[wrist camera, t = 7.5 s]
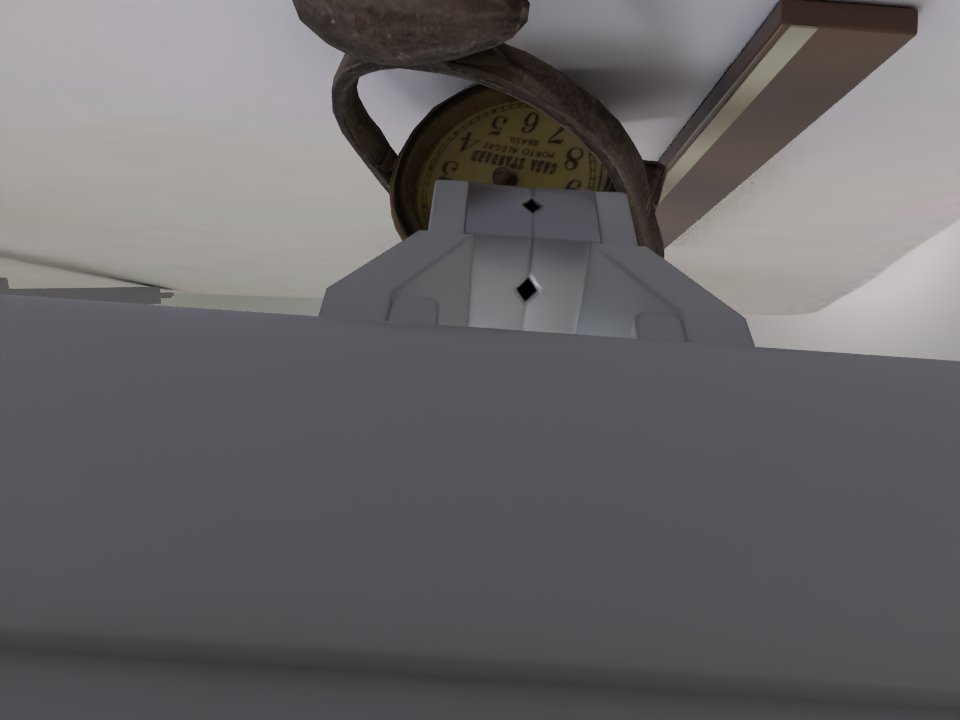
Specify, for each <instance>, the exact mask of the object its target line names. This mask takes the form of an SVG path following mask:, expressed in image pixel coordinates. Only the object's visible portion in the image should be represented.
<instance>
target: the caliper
mask: <svg viewBox="0 0 960 720" xmlns="http://www.w3.org/2000/svg"><path fill="white" fill-rule="evenodd" d="M0 294H6V295H20V296H35V297H49V298H63V299H78V300H92V301H107V302H121V303H136V304H160V303H161V298H171V297H172V296H173V295H174V293H170V292H168V293H160V287H116V288H47V289H9V286H8V280H7V278H0Z"/></svg>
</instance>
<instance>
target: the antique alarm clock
mask: <svg viewBox="0 0 960 720" xmlns="http://www.w3.org/2000/svg"><path fill="white" fill-rule="evenodd" d="M293 3H294V6H295V8H296V11H297V13H298V16H299V19H300V20H301V21H302V22H303V23H304V24H305V25H306V26H307V27H309V28H310V29H311V30H312V31H313V32H314V33H315V34H317V35H318V36H319V37H320V38H321V39H322V40H323V41H325V42H326V43H327V44H329V45H331V46H333V47H334V48H336V49H338V50H340V51H342V52H344V53H345V55H344V57H343V59H342V61H341V64H340V66H339V68H338V70H337V72H336V74H335V76H334V80H333V86H332V107H333V113H334V115H335V118H336V120H337V122H338V124H339V127H340V129H341V131H342V133H343V135H344V136H345V137H346V139H347V140H348V141H349V143H350V144H351V146H352V147H353V148H354V150H355V151H356V152H357V154H358V155H359V156H360V157H361V159H362V160H363V161H364V163H365V164H366V165H367V167H368V168H369V169H370V170H371V172H372V173H373V174H374V176H375V177H376V178H377V179H378V181H379V182H380V183H381V185H382V186H383V187H384V188H385V189H386V191H387V192H388V193H389V195H390V205H391V215H392V219H393V222H394V225H395V229H396V230H397V232H398V234H399V236H400V237H401V239H402V241H403V240H405V239H406V238H408V237H410V236H411V235H413V234H414V233H416V232H418V231H419V230H425V231H428V226H429V220H430V213H431V206H432V200H433V193H434V186H435V182H436V181H437V180H457V181H467V182H468V190H469V182H475V183H486V184H497V185H508V186H519V187H530V188H547V189H568V190H589V191H594V192H624V193H625V194H627V197H628V202H629V207H630V211H631V216H632V221H633V226H634V230H635V235H636V240H637V244H638V246H646V247H648V248H649V249H651V250H652V251H653V252H655V253H656V254H657V255H659V256H660V257H662V258H663V259H664V244H663V239H662V235H661V231H660V228H659V225H658V222H657V219H656V215H655V212H656V209H657V206H658V203H659V201H660V198H661V193H662V188H663V185H664V182H665V179H666V176H667V167H666V166H665V165H663V164H662V163H660V162H657V161H647V160H642V157H641V156H640V154H639V152H638V150H637V148H636V147H635V145H634V143H633V142H632V140H631V138H630V137H629V135H628V134H627V132H626V131H625V129H624V128H623V126H622V125H621V123H620V122H619V120H618V119H617V118H616V117H615V116H614V115H613V114H611V113H610V112H609V111H608V110H607V109H606V108H605V107H604V106H603V105H602V104H601V102H600V101H599V100H598V99H597V98H595V97H594V96H593V95H591V94H590V93H588V92H587V91H586V90H584V89H583V88H581V87H579V86H577V85H576V84H575V83H573V82H572V81H571V80H569V79H568V78H567V77H565V76H564V75H563V74H561V73H560V72H559V71H557V70H556V69H555V68H553V67H552V66H551V65H549V64H547V63H545V62H543V61H542V60H540V59H538V58H536V57H534V56H533V55H531V54H529V53H527V52H525V51H522V50H520V49H517V48H514V47H512V46H509V45H507V44H505V43H504V42H505V41H507V40H509V39H511V38H513V37H514V35H515V34H516V33H517V32H518V31H519V30H520V29H521V28H522V27H523V26H524V25H525V24H526V23H527V20H528V13H529V6H530V3H529V1H528V0H293ZM396 68H402V69H411V70H419V71H426V72H434V73H441V74H445V75H450V76H454V77H459V78H463V79H468V80H471V81H474V82H477V83H476V84H472V85H470V86H469V87H467V88H465V89H464V90H462V91H460V92H459V93H457V94H455V95H454V96H452V97H450V98H448V99H447V100H445V101H443V102H442V103H440V104H438V105H437V106H435V107H434V108H433V109H432V110H431V111H430V112H429V113H428V114H427V115H426V116H425V117H424V119H423V120H422V121H421V122H420V123H419V124H418V125H417V126H416V127H415V128H414V130H413V131H412V133H411V134H410V136H409V138H408V140H407V141H406V143H405V145H404V146H403V148H402V150H401V152H400V153H399V155H398V156H397V154H396V153H395V152H394V150H393V149H392V148H391V146H390V145H389V143H388V141H387V140H386V138H385V136H384V135H383V133H382V131H381V130H380V128H379V127H378V126H377V125H376V123H375V122H374V121H373V120H372V119H371V117H370V116H369V115H368V113H367V111H366V109H365V107H364V106H363V104H362V102H361V100H360V98H359V96H358V91H357V84H358V80H359V77H360V76H363V75H365V74H367V73H371V72H375V71H378V70H385V69H396Z"/></svg>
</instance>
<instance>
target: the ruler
mask: <svg viewBox="0 0 960 720" xmlns="http://www.w3.org/2000/svg"><path fill="white" fill-rule="evenodd" d="M917 28H918V10H917V9H909V8H897V7H884V6H872V5H859V4H847V3H834V2H822V1H809V0H781V2H780V3H779V4H778V6H777V7H776V8H775V10H774V11H773V12H772V14H771V15H770V16H769V17H768V19H767V20H766V21H765V23H764V24H763V25H762V27H761V28H760V29H759V31H758V32H757V33H756V34H755V36H754V37H753V38H752V40H751V41H750V42H749V44H748V45H747V46H746V48H745V49H744V50H743V51H742V53H741V54H740V55H739V57H738V58H737V59H736V61H735V62H734V63H733V65H732V66H731V67H730V69H729V70H728V71H727V72H726V74H725V75H724V76H723V78H722V79H721V80H720V82H719V83H718V84H717V86H716V87H715V88H714V89H713V91H712V92H711V93H710V95H709V96H708V97H707V99H706V100H705V101H704V103H703V104H702V105H701V106H700V108H699V109H698V110H697V112H696V113H695V114H694V116H693V117H692V118H691V120H690V121H689V122H688V123H687V125H686V126H685V127H684V129H683V130H682V131H681V133H680V134H679V135H678V137H677V138H676V139H675V141H674V142H673V143H672V144H671V146H670V147H669V148H668V150H667V151H666V152H665V154H664V155H663V156H662V158H661V159H660V160H659V161H658V162H660V163H662V164H663V165H665V166H666V167H667V176H666V179H665V182H664V185H663V188H662V193H661V198H660V201H659V203H658V206H657V209H656V212H655V215H656V219H657V222H658V225H659V228H660V231H661V235H662V239H663V244H664V249H665V248H666V247H667V246H668V245H669V244H670V243H672V242H673V241H674V240H675V239H676V238H678V237H679V236H680V235H681V234H682V233H683V232H685V231H686V230H687V229H688V228H689V227H691V226H692V225H693V224H694V223H695V222H696V221H698V220H699V219H700V218H701V217H702V216H703V215H705V214H706V213H707V212H708V211H709V210H711V209H712V208H713V207H714V206H715V205H716V204H718V203H719V202H720V201H721V200H722V199H723V198H725V197H726V196H727V195H728V194H729V193H731V192H732V191H733V190H734V189H735V188H736V187H738V186H739V185H740V184H741V183H742V182H744V181H745V180H746V179H747V178H748V177H749V176H751V175H752V174H753V173H754V172H755V171H756V170H758V169H759V168H760V167H761V166H762V165H764V164H765V163H766V162H767V161H768V160H769V159H771V158H772V157H773V156H774V155H775V154H776V153H778V152H779V151H780V150H781V149H782V148H784V147H785V146H786V145H787V144H788V143H789V142H791V141H792V140H793V139H794V138H795V137H797V136H798V135H799V134H800V133H801V132H802V131H804V130H805V129H806V128H807V127H808V126H809V125H811V124H812V123H813V122H814V121H815V120H817V119H818V118H819V117H820V116H821V115H822V114H824V113H825V112H826V111H827V110H828V109H829V108H831V107H832V106H833V105H834V104H835V103H837V102H838V101H839V100H840V99H841V98H842V97H844V96H845V95H846V94H847V93H848V92H850V91H851V90H852V89H853V88H854V87H855V86H857V85H858V84H859V83H860V82H861V81H862V80H864V79H865V78H866V77H867V76H868V75H870V74H871V73H872V72H873V71H874V70H875V69H877V68H878V67H879V66H880V65H881V64H882V63H884V62H885V61H886V60H887V59H888V58H890V57H891V56H892V55H893V54H894V53H895V52H897V51H898V50H899V49H900V48H901V47H903V46H904V45H905V44H906V43H907V42H908V41H910V40H911V39H912V38H913V37H914V36H915V35H916V34H917Z"/></svg>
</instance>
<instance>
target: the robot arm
mask: <svg viewBox="0 0 960 720" xmlns="http://www.w3.org/2000/svg"><path fill="white" fill-rule="evenodd" d="M0 720H960V361H949V360H936V359H922V358H907V357H892V356H879V355H864V354H850V353H835V352H821V351H807V350H792V349H778V348H764V347H755V345H754V342H753V339H752V336H751V333H750V330H749V327H748V325H747V322H746V319H745V318H744V317H743V316H741V315H740V314H739V313H737V312H736V311H735V310H733V309H732V308H730V307H729V306H728V305H726V304H725V303H724V302H722V301H721V300H719V299H718V298H717V297H715V296H714V295H713V294H711V293H710V292H708V291H707V290H706V289H704V288H703V287H702V286H700V285H699V284H697V283H696V282H695V281H693V280H692V279H691V278H689V277H688V276H686V275H685V274H684V273H682V272H681V271H680V270H678V269H677V268H675V267H674V266H673V265H671V264H670V263H668V262H667V261H666V260H664V259H663V258H662V257H660V256H659V255H657V254H656V253H655V252H653V251H652V250H651V249H649V248H648V247H646V246H638V244H637V240H636V235H635V230H634V226H633V221H632V216H631V211H630V207H629V202H628V197H627V194H625V193H624V192H594V191H589V190H568V189H547V188H530V187H519V186H508V185H497V184H486V183H475V182H469V190H468V182H467V181H457V180H437V181H436V182H435V186H434V193H433V200H432V206H431V213H430V220H429V226H428V231H425V230H419V231H418V232H416V233H414V234H413V235H411V236H410V237H408V238H406V239H405V240H403V241H402V242H400V243H398V244H397V245H395V246H394V247H392V248H390V249H389V250H387V251H386V252H384V253H382V254H381V255H379V256H378V257H376V258H374V259H373V260H371V261H370V262H368V263H366V264H365V265H363V266H362V267H360V268H358V269H357V270H355V271H354V272H352V273H350V274H349V275H347V276H346V277H344V278H342V279H341V280H339V281H338V282H336V283H334V284H333V285H331V286H330V287H328V288H327V289H326V292H325V296H324V299H323V302H322V306H321V309H320V312H319V316H308V315H294V314H280V313H264V312H252V311H236V310H223V309H208V308H194V307H193V308H192V307H179V306H165V305H164V306H163V305H150V304H136V303H121V302H107V301H92V300H78V299H63V298H49V297H35V296H20V295H6V294H0Z"/></svg>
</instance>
